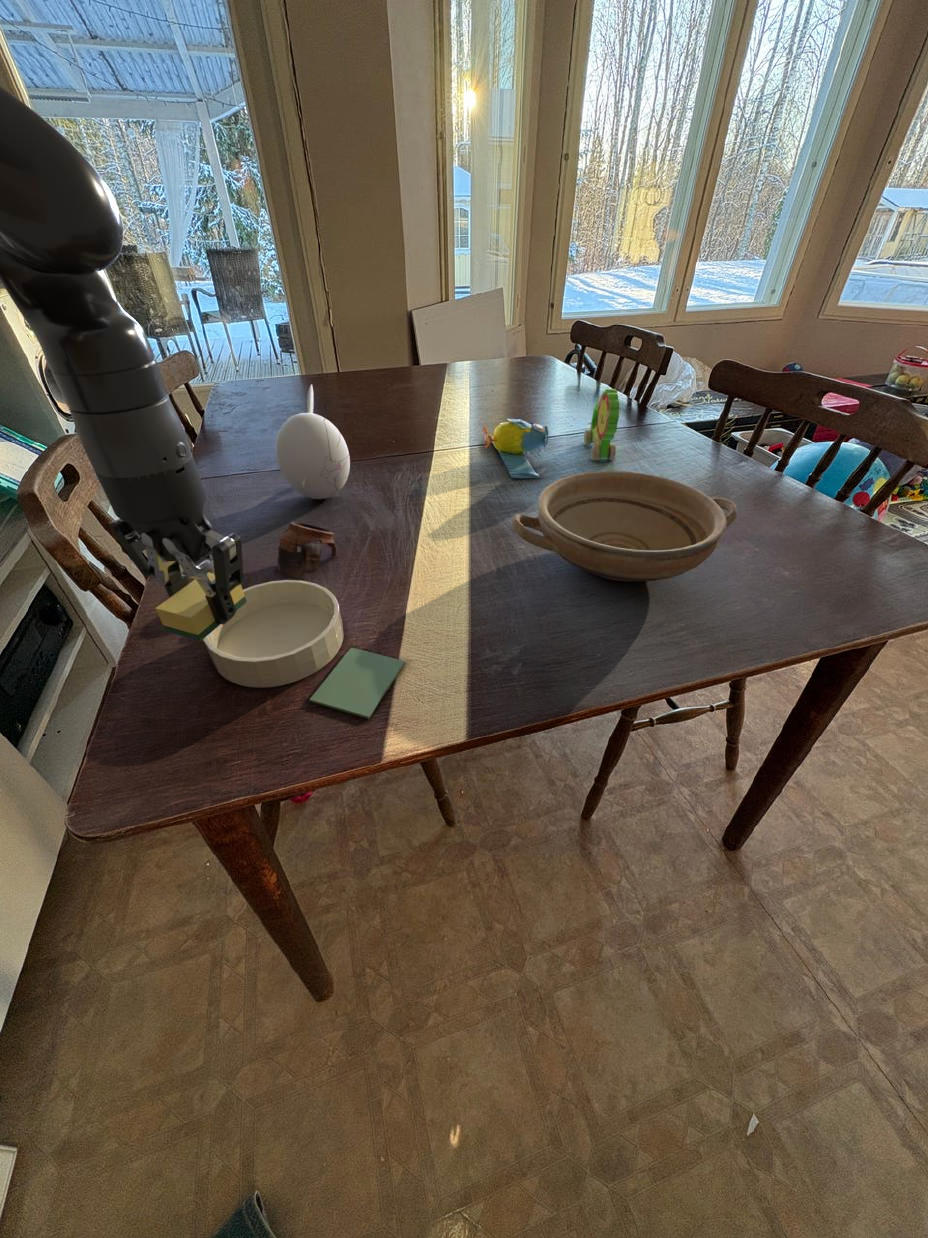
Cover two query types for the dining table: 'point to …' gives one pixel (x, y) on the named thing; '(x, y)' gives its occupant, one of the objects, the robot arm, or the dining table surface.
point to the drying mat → (358, 682)
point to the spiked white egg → (312, 454)
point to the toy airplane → (517, 445)
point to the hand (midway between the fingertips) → (207, 613)
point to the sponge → (193, 611)
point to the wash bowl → (278, 634)
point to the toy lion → (603, 426)
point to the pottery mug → (302, 548)
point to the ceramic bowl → (627, 524)
